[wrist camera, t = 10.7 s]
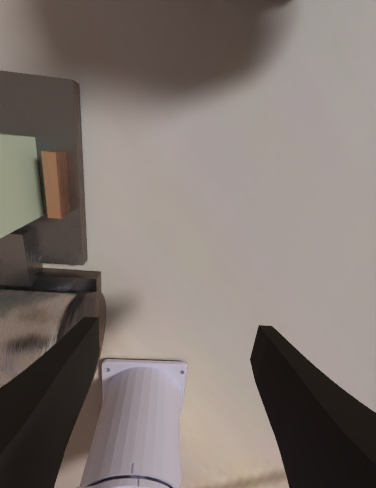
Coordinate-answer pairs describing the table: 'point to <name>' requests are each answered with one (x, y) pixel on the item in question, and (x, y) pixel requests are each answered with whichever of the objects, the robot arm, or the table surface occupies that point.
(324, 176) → the table surface
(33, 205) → the sage green cube
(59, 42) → the table surface
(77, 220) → the motor mount
